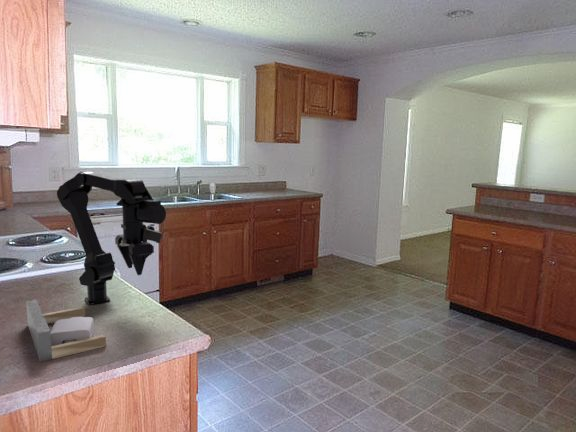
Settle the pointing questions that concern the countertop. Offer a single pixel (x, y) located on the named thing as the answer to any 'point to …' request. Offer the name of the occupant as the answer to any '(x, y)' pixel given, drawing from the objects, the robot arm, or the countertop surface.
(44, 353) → the guarded bay
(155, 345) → the countertop surface
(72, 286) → the countertop surface
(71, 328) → the charger
